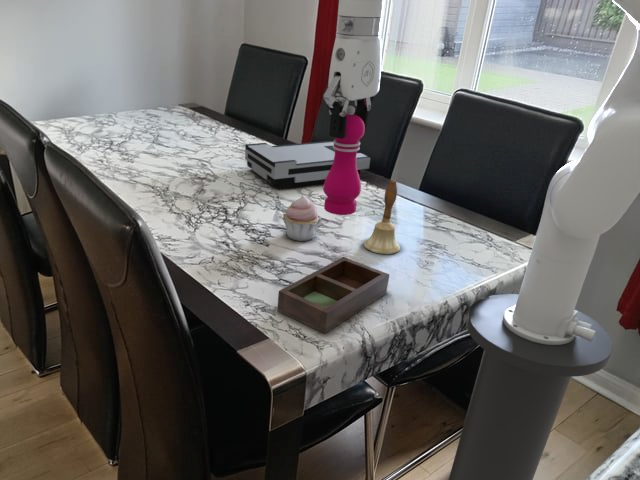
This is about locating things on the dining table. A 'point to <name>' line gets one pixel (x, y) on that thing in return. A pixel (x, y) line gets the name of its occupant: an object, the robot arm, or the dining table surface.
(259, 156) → the game console
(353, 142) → the pepper mill
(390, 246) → the hand bell
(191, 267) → the dining table surface
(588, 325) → the robot arm
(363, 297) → the holder
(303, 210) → the cupcake
